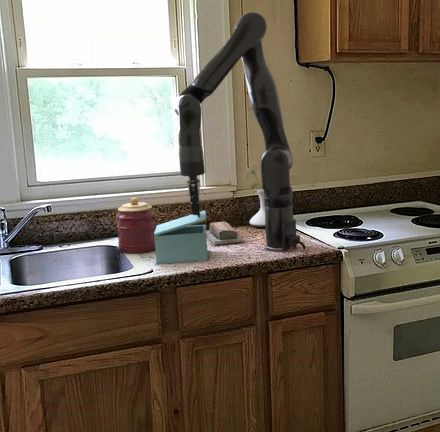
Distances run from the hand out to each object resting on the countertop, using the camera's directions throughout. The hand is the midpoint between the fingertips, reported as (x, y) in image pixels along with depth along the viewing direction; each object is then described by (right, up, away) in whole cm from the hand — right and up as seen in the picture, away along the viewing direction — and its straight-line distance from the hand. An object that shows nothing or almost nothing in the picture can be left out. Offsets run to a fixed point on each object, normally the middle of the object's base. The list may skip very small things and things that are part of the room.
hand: (196, 212), depth 202 cm
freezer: (-5, -14, +2) cm, 15 cm away
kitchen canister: (-22, -12, +16) cm, 30 cm away
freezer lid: (-5, -3, 0) cm, 6 cm away
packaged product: (+6, -9, +25) cm, 27 cm away
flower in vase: (+19, -5, +43) cm, 48 cm away
